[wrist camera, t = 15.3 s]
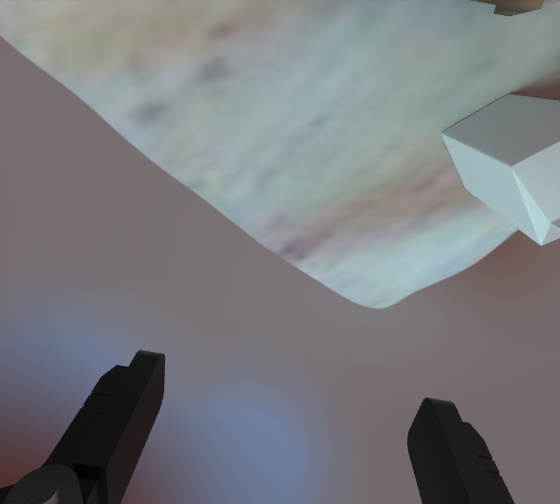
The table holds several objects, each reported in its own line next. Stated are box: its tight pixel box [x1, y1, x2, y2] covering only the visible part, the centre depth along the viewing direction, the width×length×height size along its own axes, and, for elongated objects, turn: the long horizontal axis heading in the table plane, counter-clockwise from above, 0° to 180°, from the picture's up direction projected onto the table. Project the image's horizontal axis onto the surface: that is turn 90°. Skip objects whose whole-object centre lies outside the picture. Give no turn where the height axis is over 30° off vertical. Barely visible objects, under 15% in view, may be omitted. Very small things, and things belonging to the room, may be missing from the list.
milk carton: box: [441, 94, 560, 246], centre depth 31 cm, size 7×7×19 cm
